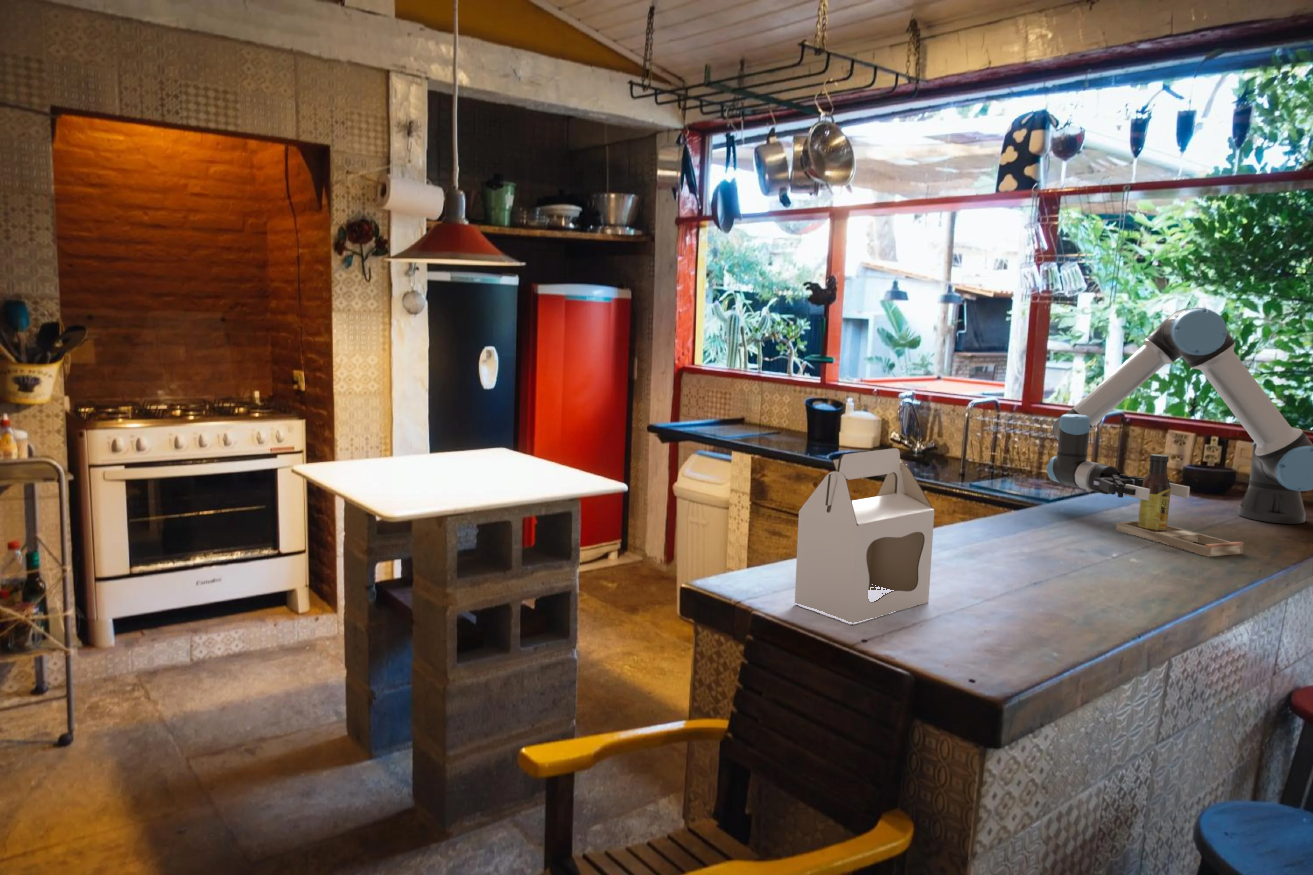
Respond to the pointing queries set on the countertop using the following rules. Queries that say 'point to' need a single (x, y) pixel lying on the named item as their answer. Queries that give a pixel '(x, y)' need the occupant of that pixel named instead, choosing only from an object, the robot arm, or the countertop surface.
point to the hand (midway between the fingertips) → (1168, 493)
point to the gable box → (865, 540)
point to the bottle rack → (1185, 540)
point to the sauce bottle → (1156, 496)
